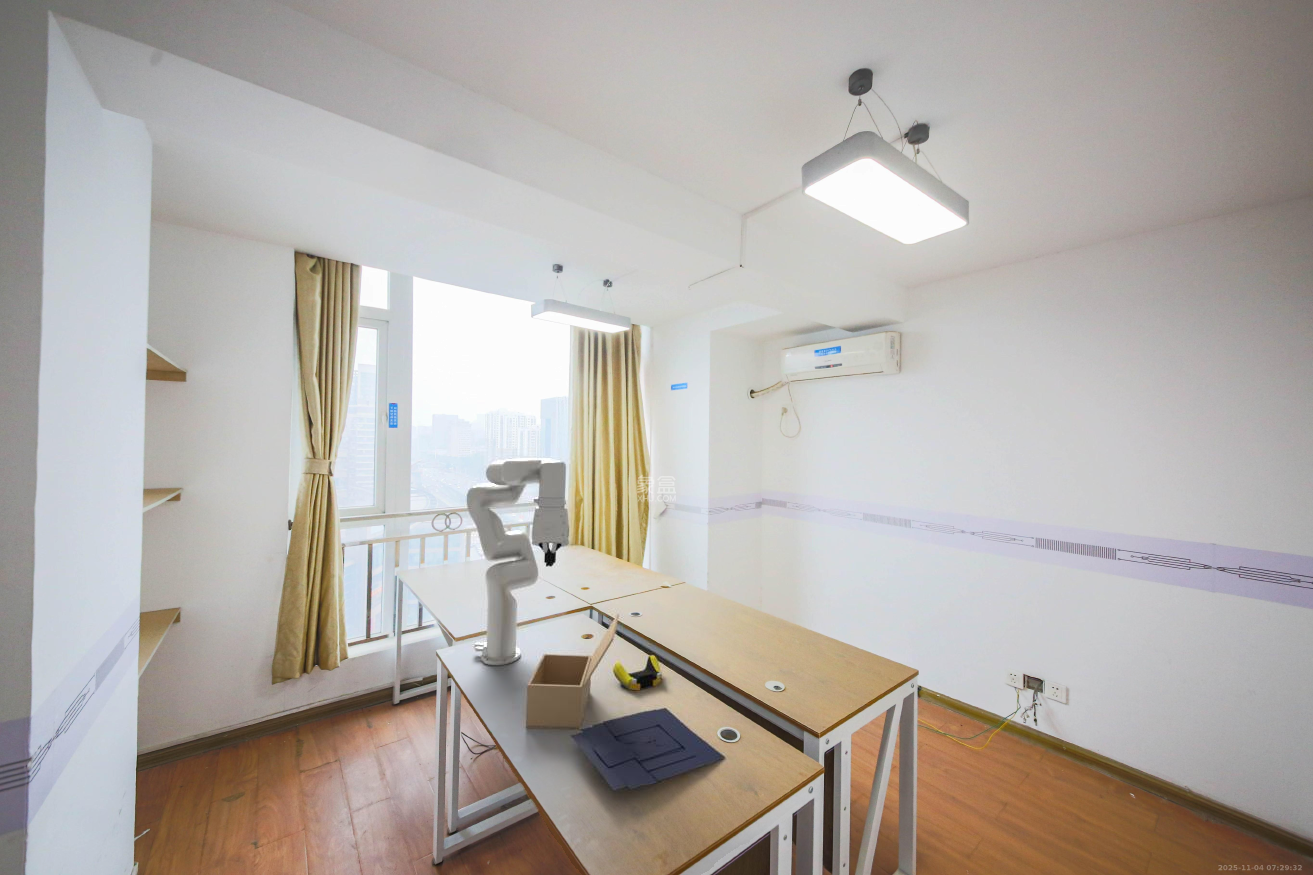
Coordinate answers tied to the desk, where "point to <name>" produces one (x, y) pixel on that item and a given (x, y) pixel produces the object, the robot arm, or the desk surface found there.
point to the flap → (601, 649)
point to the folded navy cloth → (644, 748)
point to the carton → (558, 692)
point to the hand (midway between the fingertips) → (549, 565)
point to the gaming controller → (639, 675)
